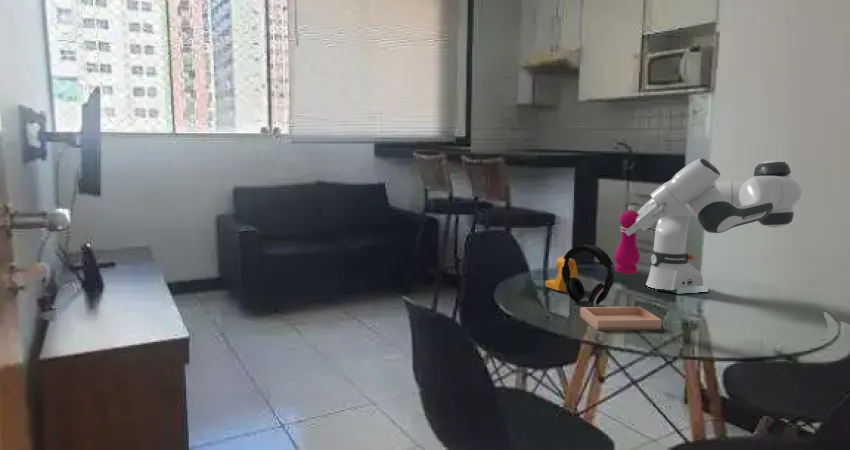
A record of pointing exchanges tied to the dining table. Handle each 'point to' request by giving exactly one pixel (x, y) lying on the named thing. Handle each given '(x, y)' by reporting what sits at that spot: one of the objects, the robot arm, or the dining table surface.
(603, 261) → the headphones
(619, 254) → the pepper mill
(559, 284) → the bracket
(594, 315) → the tray
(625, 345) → the dining table surface
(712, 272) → the dining table surface
